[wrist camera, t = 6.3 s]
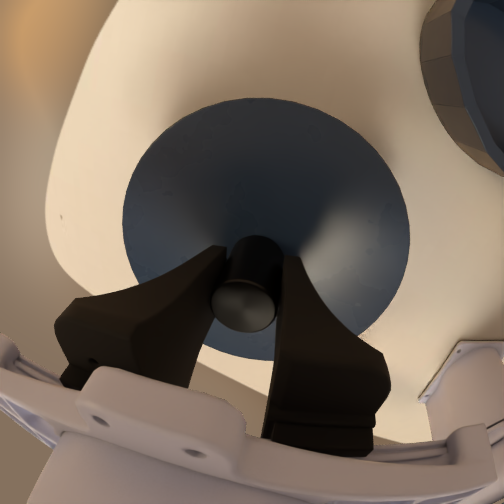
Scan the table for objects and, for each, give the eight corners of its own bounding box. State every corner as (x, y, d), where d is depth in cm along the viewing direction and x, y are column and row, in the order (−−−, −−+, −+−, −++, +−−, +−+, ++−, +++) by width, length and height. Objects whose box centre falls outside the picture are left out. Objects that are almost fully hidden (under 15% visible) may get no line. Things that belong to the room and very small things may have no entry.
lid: (360, 358, 17) (366, 421, 13) (149, 324, 18) (118, 376, 14) (431, 128, 10) (487, 147, 6) (125, 99, 12) (58, 109, 8)
